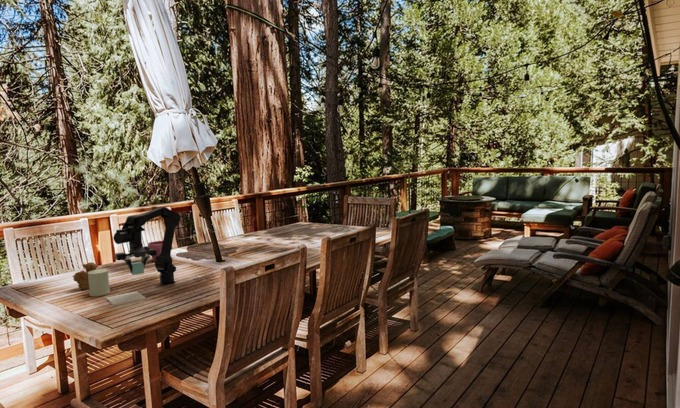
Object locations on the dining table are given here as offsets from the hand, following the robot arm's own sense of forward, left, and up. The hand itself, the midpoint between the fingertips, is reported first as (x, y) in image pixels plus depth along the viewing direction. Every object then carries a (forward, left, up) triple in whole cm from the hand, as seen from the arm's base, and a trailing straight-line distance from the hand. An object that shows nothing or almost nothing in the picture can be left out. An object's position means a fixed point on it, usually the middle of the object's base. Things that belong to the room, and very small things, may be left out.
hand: (137, 271), depth 213 cm
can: (+15, -14, -12) cm, 24 cm away
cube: (0, 0, -1) cm, 1 cm away
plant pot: (-33, -66, -12) cm, 75 cm away
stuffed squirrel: (+16, -30, -12) cm, 36 cm away
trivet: (+8, +6, -12) cm, 15 cm away
